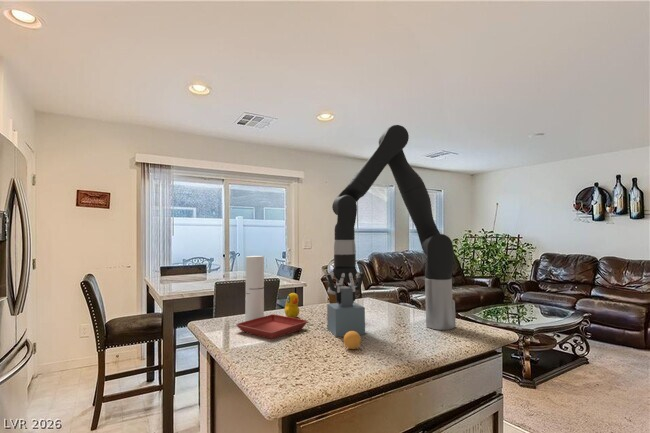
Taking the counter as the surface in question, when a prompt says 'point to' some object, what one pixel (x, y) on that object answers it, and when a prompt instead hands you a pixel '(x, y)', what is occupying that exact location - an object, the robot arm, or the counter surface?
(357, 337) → the ball
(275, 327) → the plant saucer
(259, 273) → the cylindrical container
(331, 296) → the disposable coffee cup
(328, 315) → the grey block
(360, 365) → the counter surface
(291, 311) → the duckling
